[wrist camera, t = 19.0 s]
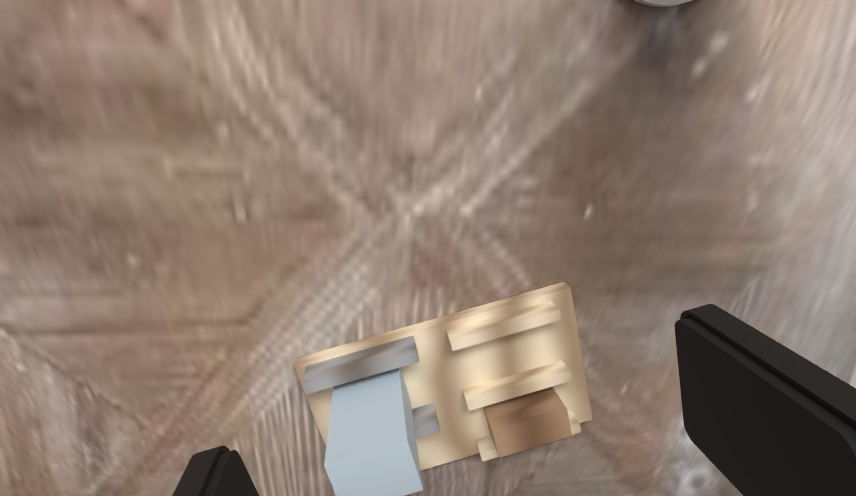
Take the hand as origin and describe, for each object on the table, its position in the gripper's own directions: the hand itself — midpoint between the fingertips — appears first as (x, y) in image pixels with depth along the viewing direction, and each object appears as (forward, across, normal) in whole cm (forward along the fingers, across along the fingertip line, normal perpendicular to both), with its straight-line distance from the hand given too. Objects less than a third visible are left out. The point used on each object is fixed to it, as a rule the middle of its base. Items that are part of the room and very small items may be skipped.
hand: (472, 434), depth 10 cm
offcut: (+31, -6, +24) cm, 40 cm away
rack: (+32, 0, +21) cm, 39 cm away
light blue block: (+31, +7, +18) cm, 36 cm away
